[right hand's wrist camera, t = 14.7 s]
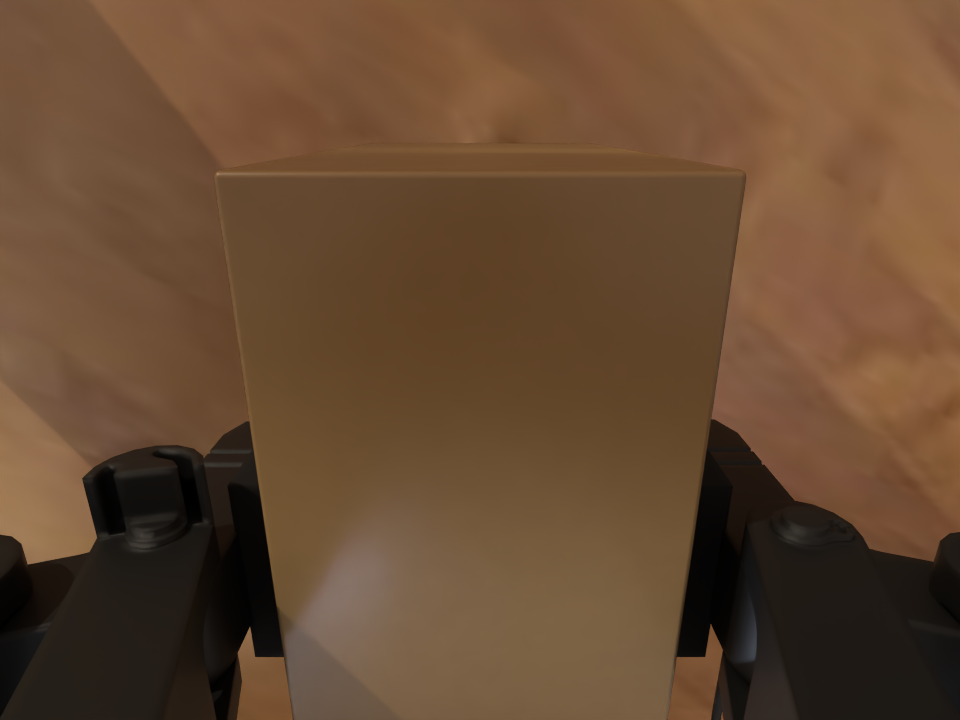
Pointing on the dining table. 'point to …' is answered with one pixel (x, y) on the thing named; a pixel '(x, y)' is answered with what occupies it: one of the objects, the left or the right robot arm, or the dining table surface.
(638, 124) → the dining table surface
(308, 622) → the beam
